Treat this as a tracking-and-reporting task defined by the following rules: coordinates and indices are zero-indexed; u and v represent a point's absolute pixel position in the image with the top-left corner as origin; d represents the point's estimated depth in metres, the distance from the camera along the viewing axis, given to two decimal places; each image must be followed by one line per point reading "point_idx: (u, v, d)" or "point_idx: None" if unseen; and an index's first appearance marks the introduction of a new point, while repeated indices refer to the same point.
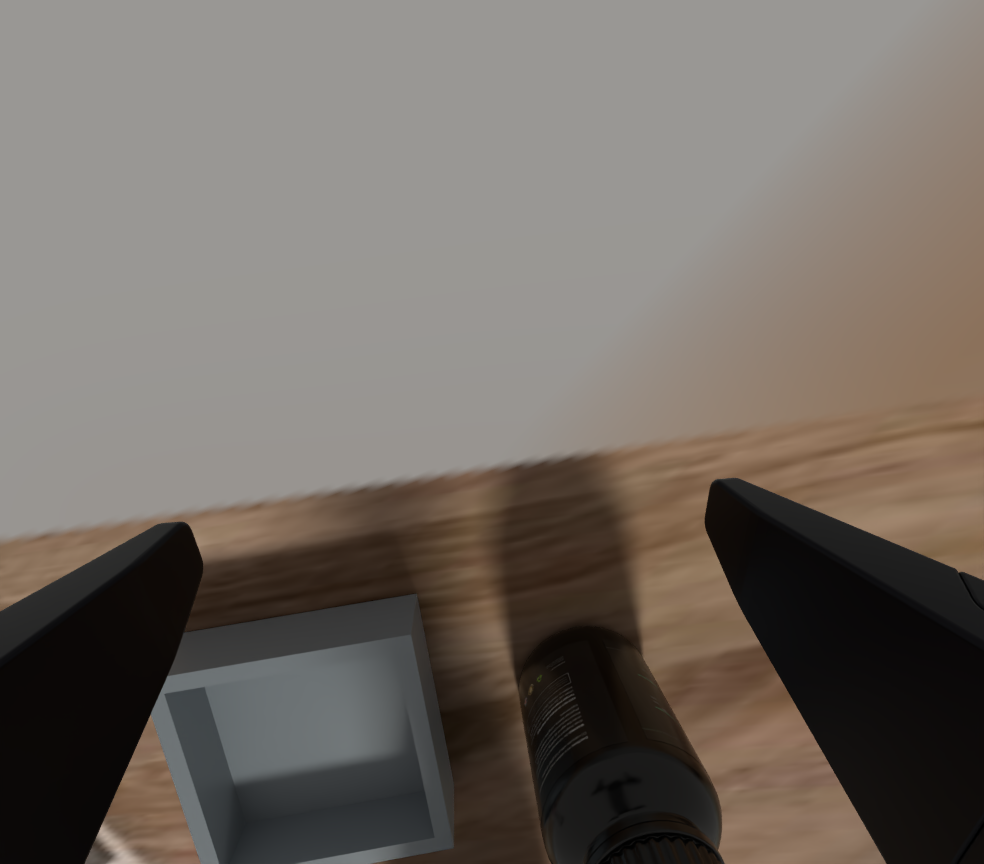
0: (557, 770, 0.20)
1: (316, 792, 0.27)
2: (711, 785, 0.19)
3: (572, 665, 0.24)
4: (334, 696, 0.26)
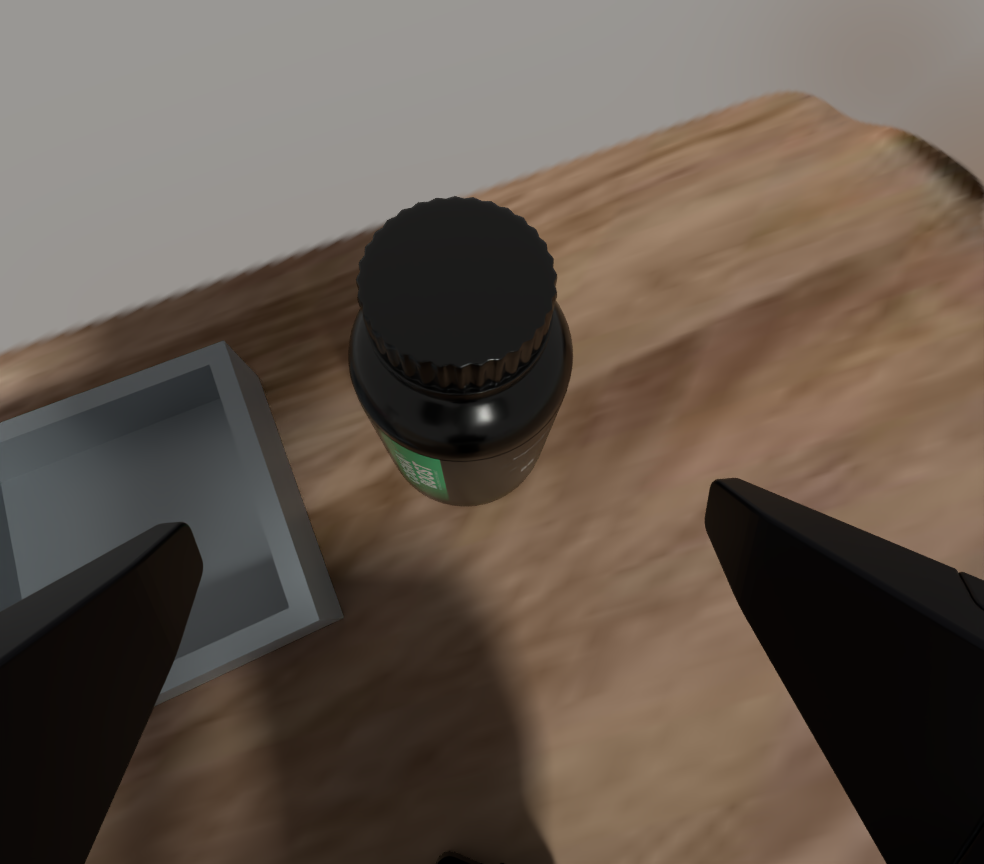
0: None
1: None
2: None
3: None
4: (167, 500, 0.22)
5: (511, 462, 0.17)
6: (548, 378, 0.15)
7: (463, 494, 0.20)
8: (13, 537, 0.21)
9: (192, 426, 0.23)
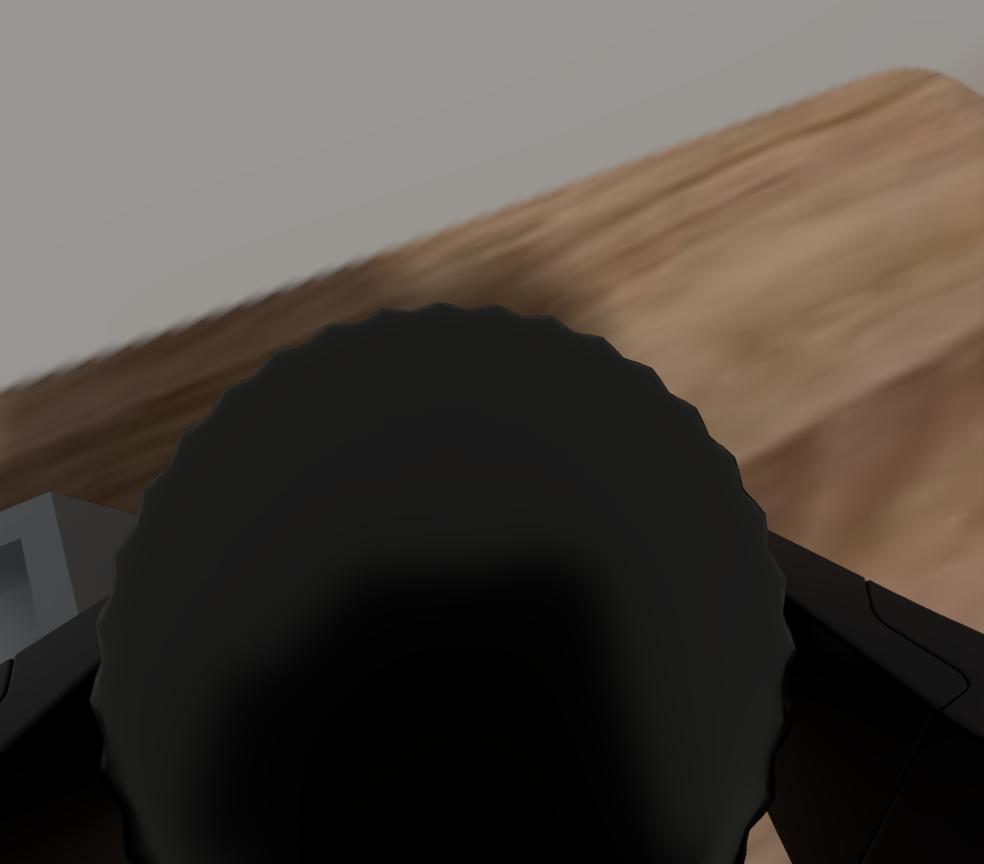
0: None
1: None
2: None
3: None
4: None
5: None
6: None
7: None
8: None
9: (20, 616, 0.14)
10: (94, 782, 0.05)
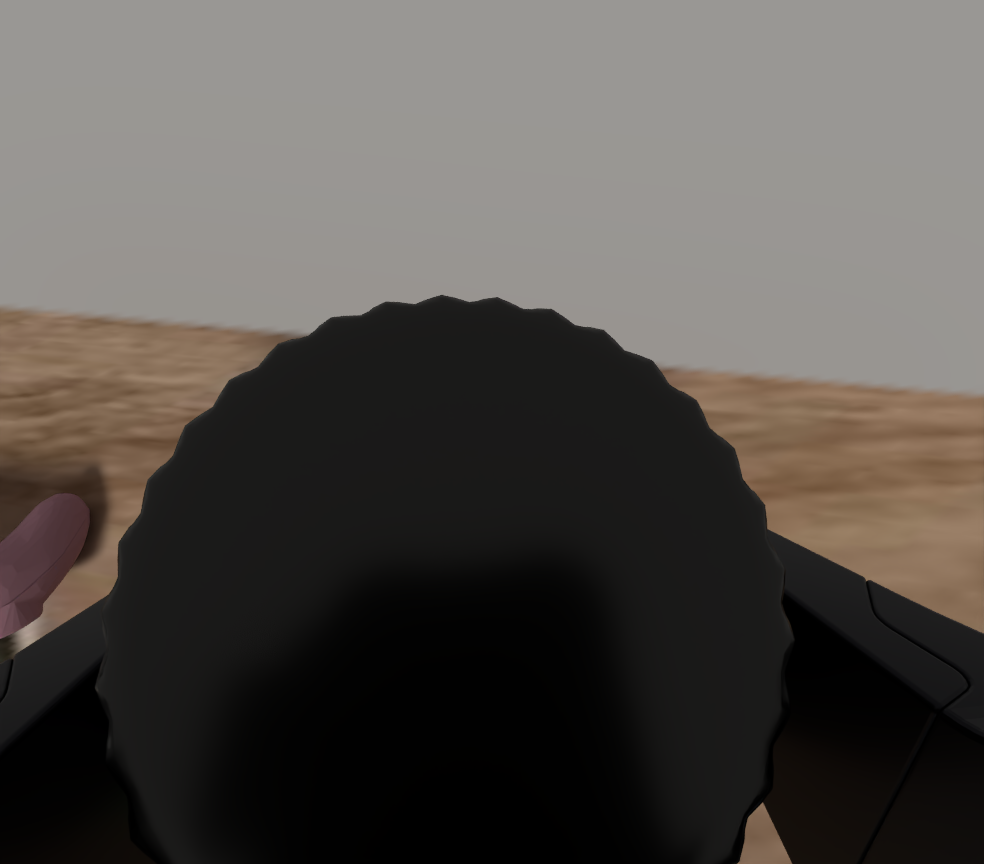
0: None
1: None
2: None
3: None
4: None
5: None
6: None
7: None
8: None
9: None
10: (93, 783, 0.05)
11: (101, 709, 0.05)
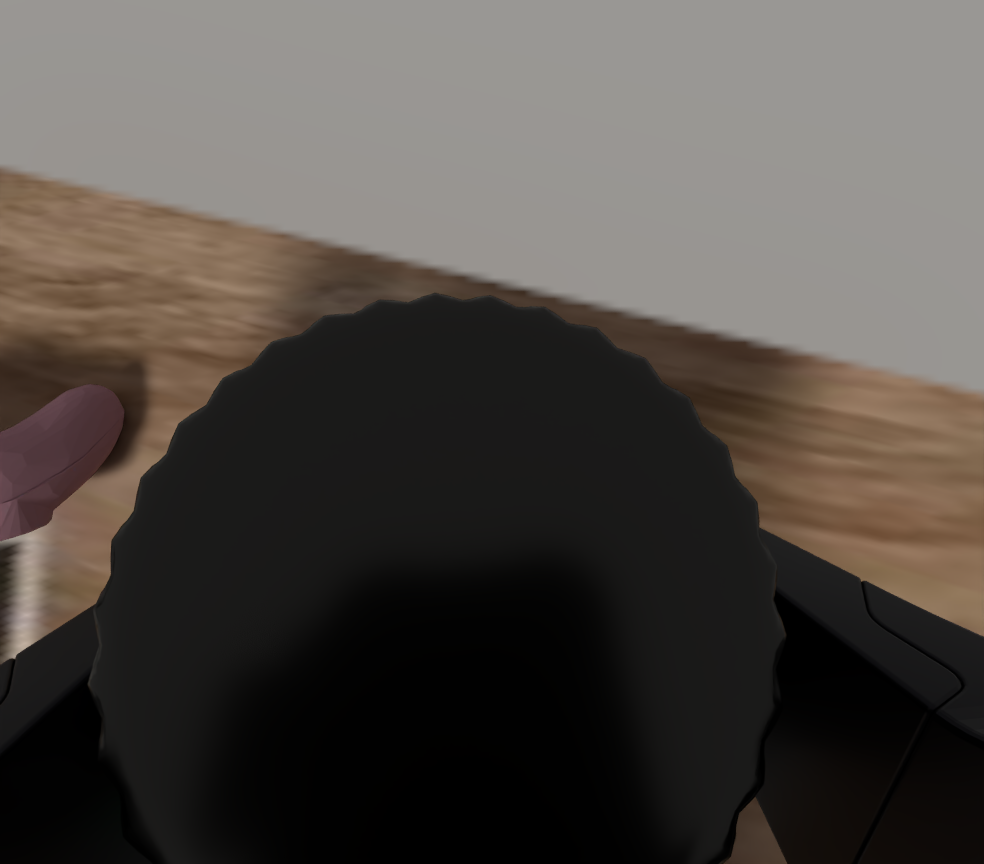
0: None
1: None
2: None
3: None
4: None
5: None
6: None
7: None
8: None
9: None
10: (95, 782, 0.05)
11: None
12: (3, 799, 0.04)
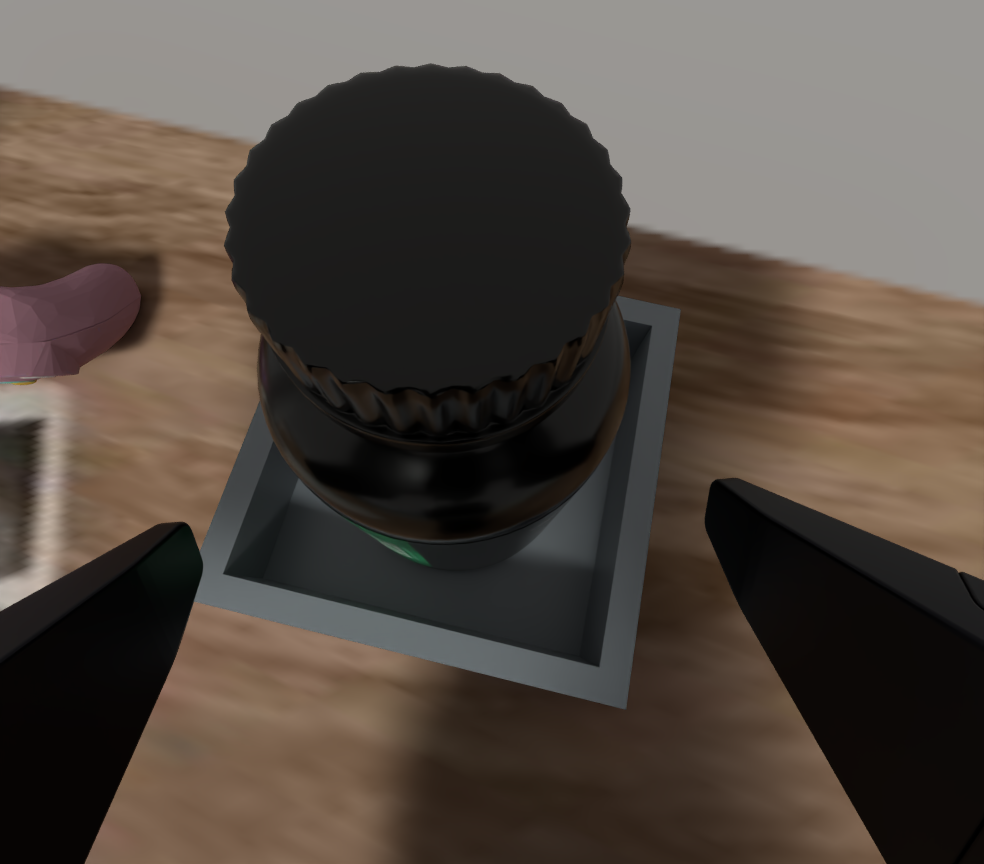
0: None
1: (394, 572, 0.16)
2: None
3: None
4: None
5: (525, 533, 0.11)
6: (595, 407, 0.08)
7: (452, 565, 0.13)
8: None
9: None
10: None
11: None
12: None
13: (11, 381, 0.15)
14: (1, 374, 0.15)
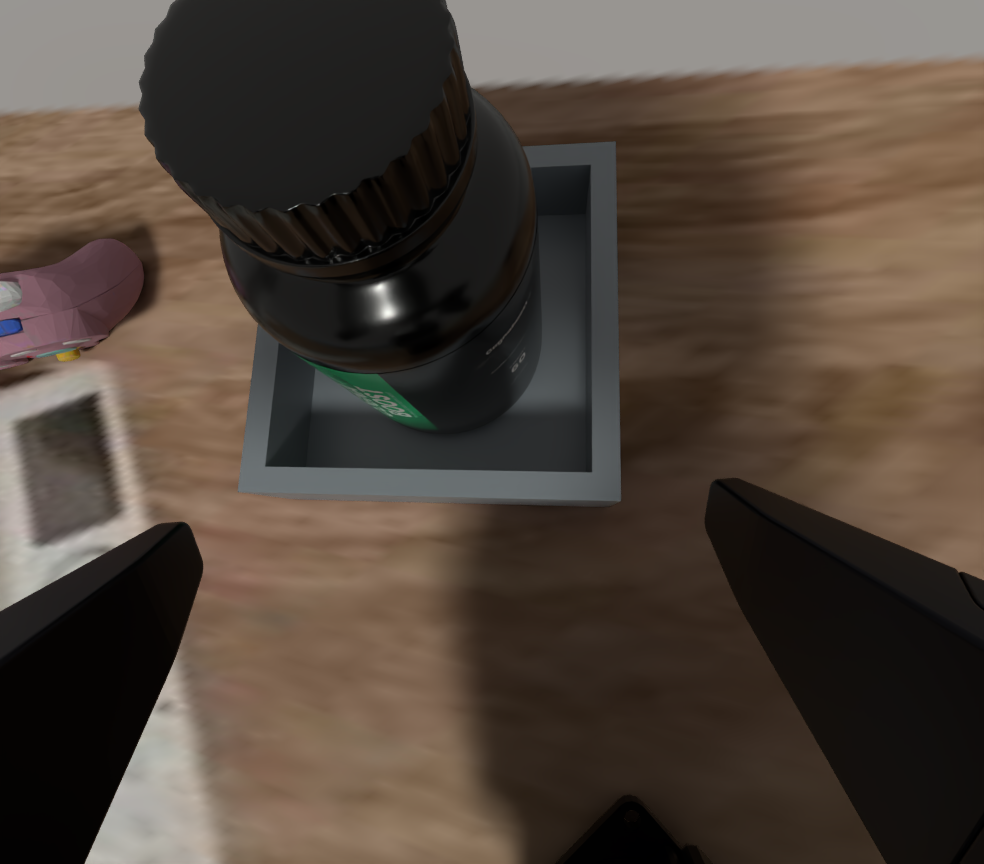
0: None
1: (412, 447, 0.19)
2: None
3: None
4: None
5: (486, 359, 0.12)
6: (497, 218, 0.10)
7: (448, 417, 0.15)
8: None
9: None
10: None
11: None
12: None
13: (58, 349, 0.18)
14: (47, 341, 0.17)
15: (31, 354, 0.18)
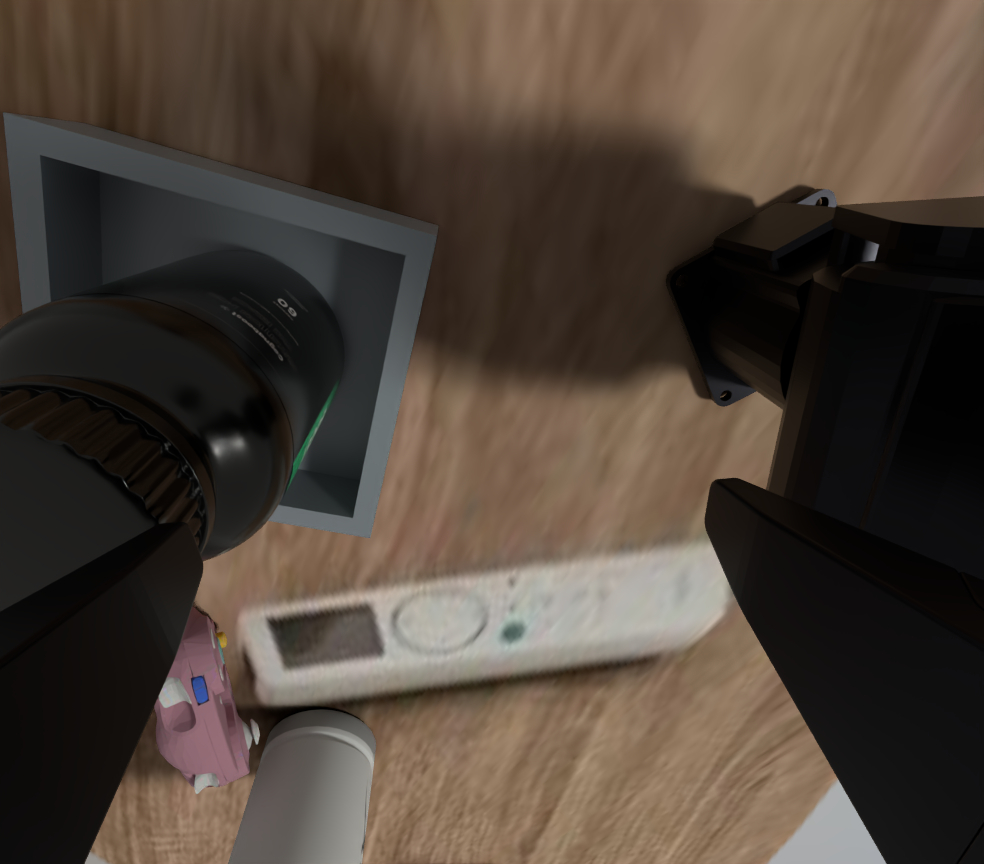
0: None
1: (351, 393, 0.21)
2: None
3: None
4: None
5: (286, 358, 0.14)
6: (156, 358, 0.10)
7: (331, 375, 0.17)
8: None
9: (127, 237, 0.18)
10: None
11: None
12: None
13: (219, 650, 0.23)
14: (212, 659, 0.22)
15: (222, 667, 0.23)
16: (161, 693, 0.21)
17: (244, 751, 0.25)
